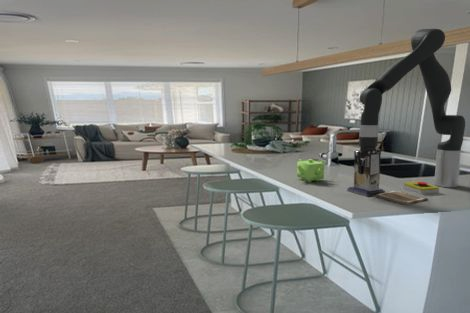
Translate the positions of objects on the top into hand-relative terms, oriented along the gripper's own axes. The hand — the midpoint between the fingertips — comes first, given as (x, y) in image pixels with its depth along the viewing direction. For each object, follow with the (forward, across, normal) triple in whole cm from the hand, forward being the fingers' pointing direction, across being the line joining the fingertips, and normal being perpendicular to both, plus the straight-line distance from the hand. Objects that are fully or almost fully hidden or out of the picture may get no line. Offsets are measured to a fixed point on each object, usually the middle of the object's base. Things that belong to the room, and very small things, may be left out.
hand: (366, 173), depth 138 cm
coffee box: (+7, 0, 0) cm, 7 cm away
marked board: (+9, -5, +13) cm, 17 cm away
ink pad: (+9, 0, 0) cm, 9 cm away
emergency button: (+9, -23, +10) cm, 26 cm away
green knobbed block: (+9, +6, -31) cm, 33 cm away
